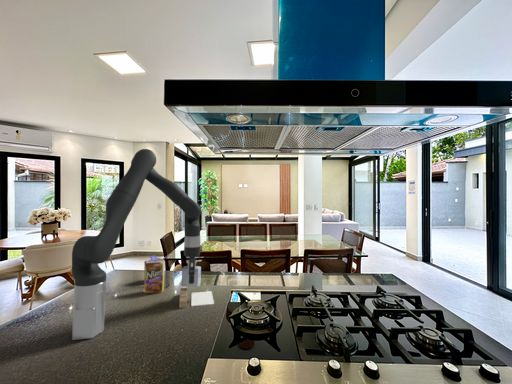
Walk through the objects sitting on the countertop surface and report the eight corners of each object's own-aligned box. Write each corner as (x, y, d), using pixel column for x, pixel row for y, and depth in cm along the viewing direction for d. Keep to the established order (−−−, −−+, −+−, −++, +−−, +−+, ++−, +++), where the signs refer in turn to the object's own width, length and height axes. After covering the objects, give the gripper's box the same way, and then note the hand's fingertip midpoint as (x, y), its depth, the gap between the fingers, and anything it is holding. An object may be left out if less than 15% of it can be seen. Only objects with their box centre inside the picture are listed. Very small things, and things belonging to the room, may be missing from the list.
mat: (214, 304, 109) (214, 303, 109) (191, 306, 107) (191, 305, 107) (211, 292, 124) (211, 291, 125) (191, 293, 122) (191, 292, 122)
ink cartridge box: (158, 278, 147) (159, 253, 148) (164, 279, 144) (164, 255, 145) (143, 282, 139) (144, 256, 140) (149, 284, 136) (150, 258, 137)
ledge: (186, 307, 106) (186, 295, 106) (179, 307, 105) (179, 296, 106) (187, 294, 121) (187, 283, 122) (181, 294, 121) (181, 284, 121)
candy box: (143, 293, 121) (144, 262, 122) (146, 290, 126) (147, 260, 126) (162, 293, 123) (163, 262, 123) (164, 290, 127) (165, 260, 128)
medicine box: (200, 284, 117) (201, 266, 117) (197, 287, 112) (198, 268, 113) (184, 283, 117) (185, 265, 118) (181, 286, 113) (181, 268, 113)
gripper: (200, 247, 110) (200, 285, 109) (199, 242, 124) (199, 276, 123) (183, 248, 108) (182, 287, 107) (184, 243, 122) (183, 277, 121)
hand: (191, 281), depth 115 cm, fingers closed on medicine box, 5 cm apart
